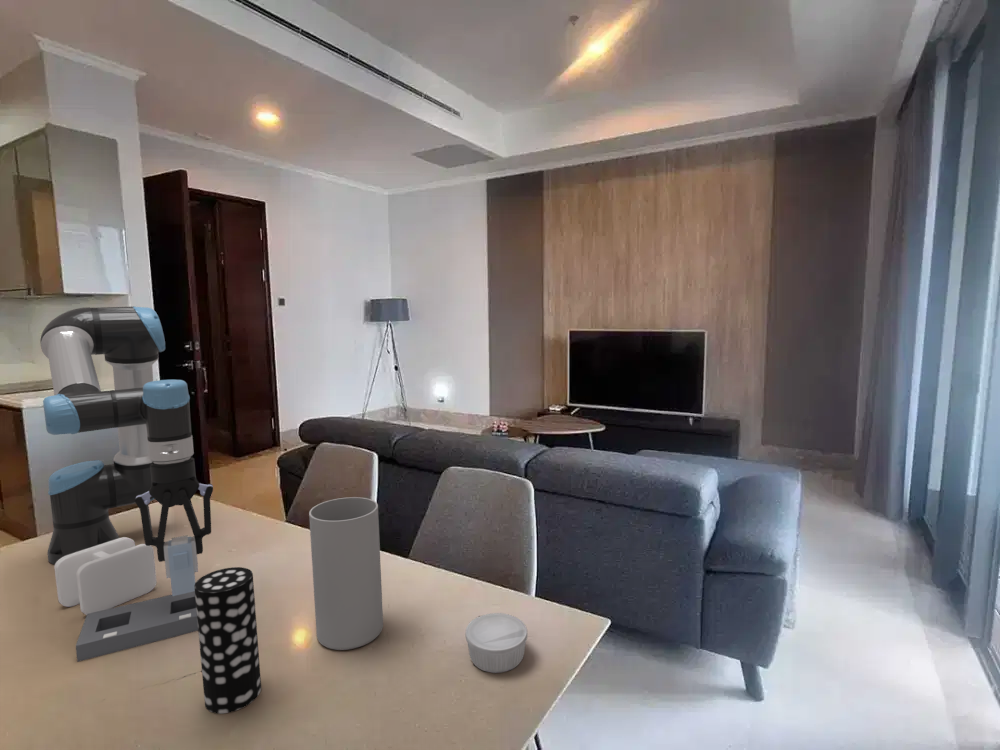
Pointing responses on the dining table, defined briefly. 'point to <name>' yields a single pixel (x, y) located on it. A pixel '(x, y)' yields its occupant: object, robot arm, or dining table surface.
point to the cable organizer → (105, 575)
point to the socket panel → (136, 625)
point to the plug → (181, 565)
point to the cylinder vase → (346, 572)
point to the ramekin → (496, 642)
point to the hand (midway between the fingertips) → (182, 572)
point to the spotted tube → (228, 639)
